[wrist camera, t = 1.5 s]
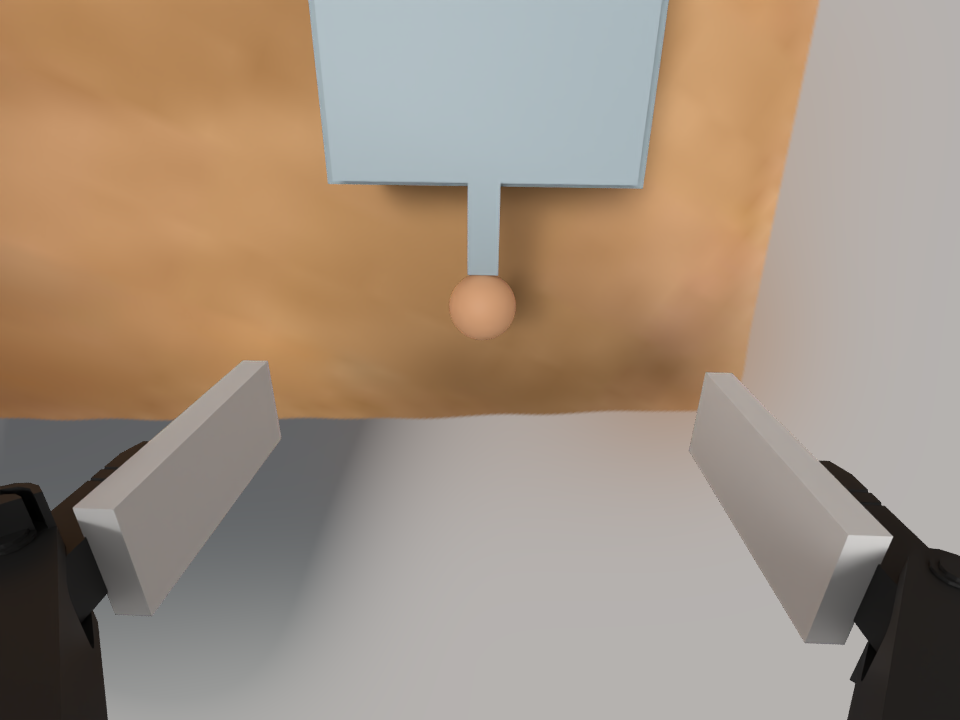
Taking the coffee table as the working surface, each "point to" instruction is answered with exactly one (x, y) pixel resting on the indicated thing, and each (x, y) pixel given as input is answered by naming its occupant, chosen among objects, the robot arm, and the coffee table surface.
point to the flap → (486, 107)
